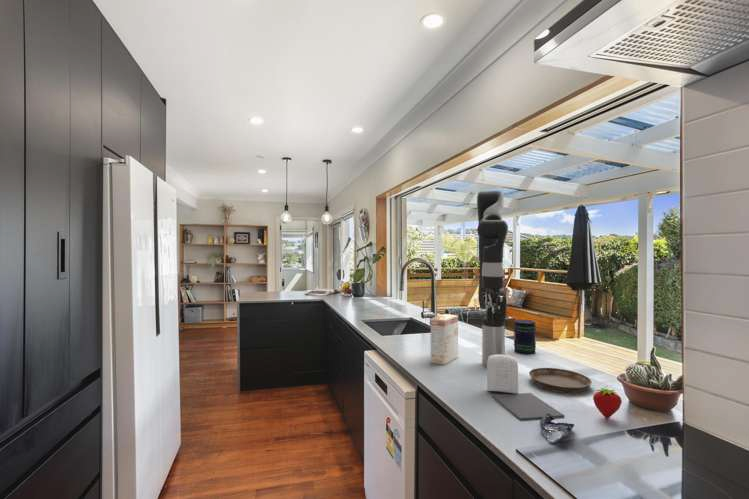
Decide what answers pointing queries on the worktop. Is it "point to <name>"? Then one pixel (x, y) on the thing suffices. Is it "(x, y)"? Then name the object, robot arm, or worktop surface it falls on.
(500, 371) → the photo printer
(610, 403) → the strawberry
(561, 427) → the snack package
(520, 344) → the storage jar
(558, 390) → the plant saucer
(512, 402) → the mat
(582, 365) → the worktop surface
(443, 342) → the coffeecake box
